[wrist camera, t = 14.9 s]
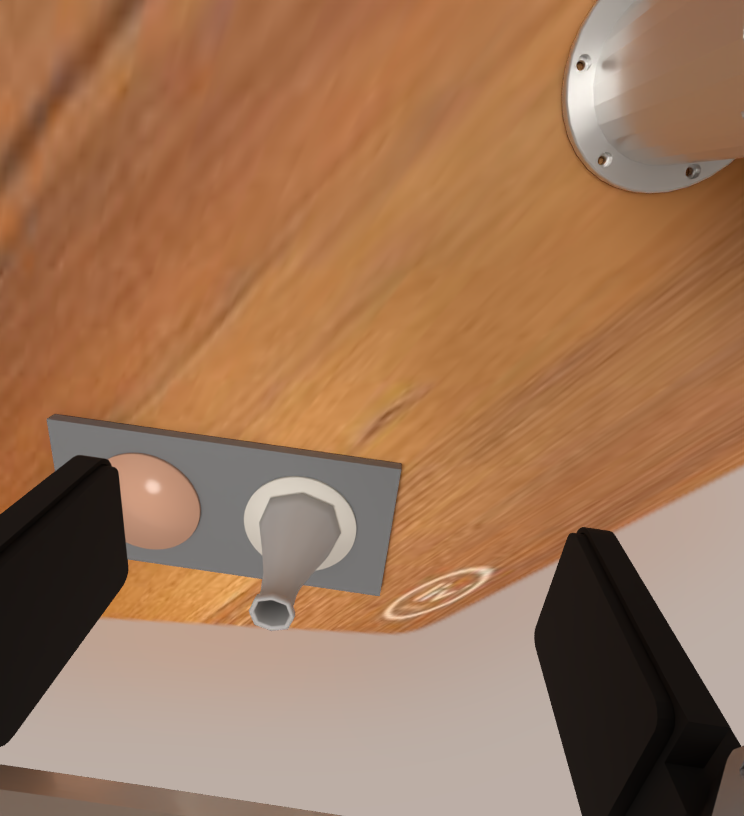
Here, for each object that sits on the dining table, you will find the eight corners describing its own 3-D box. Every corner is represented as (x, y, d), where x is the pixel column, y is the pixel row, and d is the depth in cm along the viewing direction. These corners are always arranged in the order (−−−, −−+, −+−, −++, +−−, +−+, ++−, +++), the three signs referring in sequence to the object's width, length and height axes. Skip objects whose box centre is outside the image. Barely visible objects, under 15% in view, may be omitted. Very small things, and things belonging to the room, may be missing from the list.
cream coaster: (362, 484, 42) (362, 487, 41) (350, 575, 46) (349, 578, 45) (246, 468, 42) (244, 470, 41) (244, 559, 46) (242, 562, 46)
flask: (344, 496, 42) (326, 582, 33) (338, 563, 45) (319, 658, 36) (260, 485, 42) (219, 567, 33) (259, 552, 45) (221, 644, 36)
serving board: (401, 463, 42) (401, 469, 41) (380, 588, 47) (379, 596, 47) (54, 414, 42) (46, 418, 41) (74, 543, 48) (68, 550, 47)
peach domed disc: (199, 461, 42) (198, 463, 42) (201, 553, 46) (200, 556, 46) (84, 444, 42) (81, 447, 42) (96, 538, 46) (94, 541, 46)
